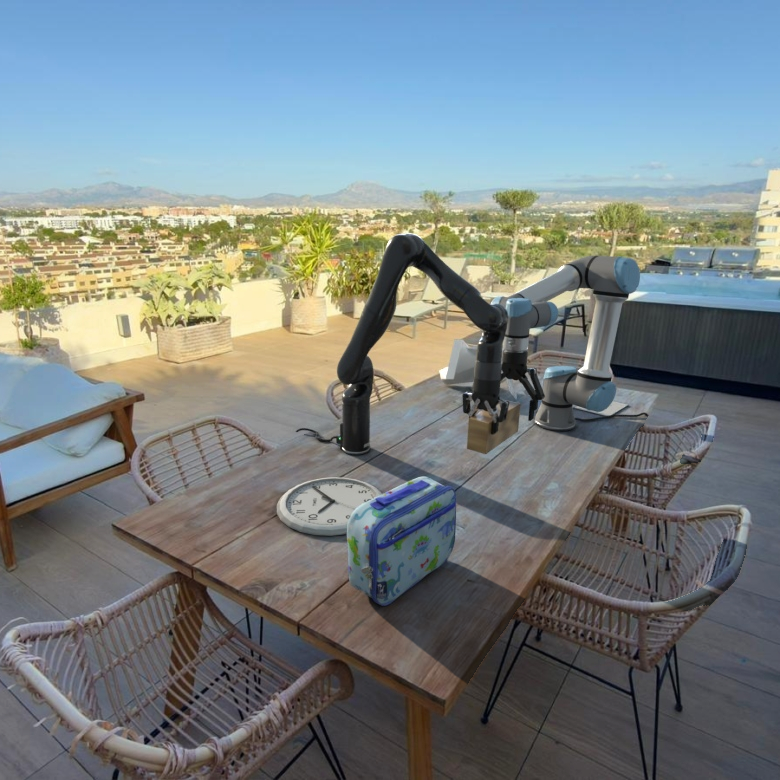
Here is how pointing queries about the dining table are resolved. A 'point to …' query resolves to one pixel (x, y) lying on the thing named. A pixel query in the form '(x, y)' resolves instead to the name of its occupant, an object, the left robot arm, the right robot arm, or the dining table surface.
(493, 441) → the box
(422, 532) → the lunch box
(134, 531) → the dining table surface
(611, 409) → the invitation card
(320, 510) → the wall clock
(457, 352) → the white plastic object
